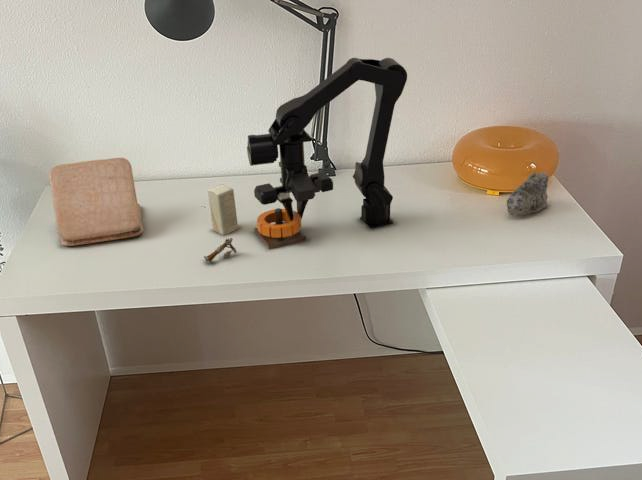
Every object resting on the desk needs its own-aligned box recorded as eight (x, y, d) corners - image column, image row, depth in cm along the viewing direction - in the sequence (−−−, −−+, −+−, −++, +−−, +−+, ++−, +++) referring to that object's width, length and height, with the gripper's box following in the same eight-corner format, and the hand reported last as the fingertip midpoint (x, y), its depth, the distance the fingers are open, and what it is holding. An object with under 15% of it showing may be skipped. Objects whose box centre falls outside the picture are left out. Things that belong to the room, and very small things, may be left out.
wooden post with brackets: (241, 250, 182) (232, 237, 179) (215, 271, 181) (206, 258, 177) (237, 247, 183) (228, 234, 180) (212, 268, 182) (203, 255, 179)
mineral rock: (507, 221, 192) (512, 183, 186) (493, 203, 201) (497, 167, 195) (556, 216, 194) (562, 178, 188) (540, 199, 202) (545, 162, 196)
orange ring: (291, 215, 194) (291, 205, 192) (307, 231, 186) (307, 222, 184) (252, 223, 191) (251, 214, 189) (266, 241, 183) (266, 231, 181)
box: (228, 223, 196) (223, 183, 190) (238, 228, 194) (234, 188, 187) (212, 230, 193) (206, 189, 187) (222, 235, 191) (217, 194, 184)
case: (60, 250, 187) (44, 189, 178) (63, 214, 204) (48, 157, 194) (144, 239, 191) (132, 178, 181) (140, 205, 207) (129, 148, 198)
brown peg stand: (291, 224, 195) (289, 198, 191) (306, 240, 187) (305, 213, 183) (254, 232, 192) (252, 206, 187) (268, 249, 184) (266, 222, 180)
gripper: (267, 179, 171) (272, 241, 180) (342, 164, 177) (343, 225, 186) (250, 163, 179) (256, 223, 188) (322, 148, 185) (324, 208, 194)
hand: (295, 220), depth 189 cm, fingers closed on orange ring, 2 cm apart
